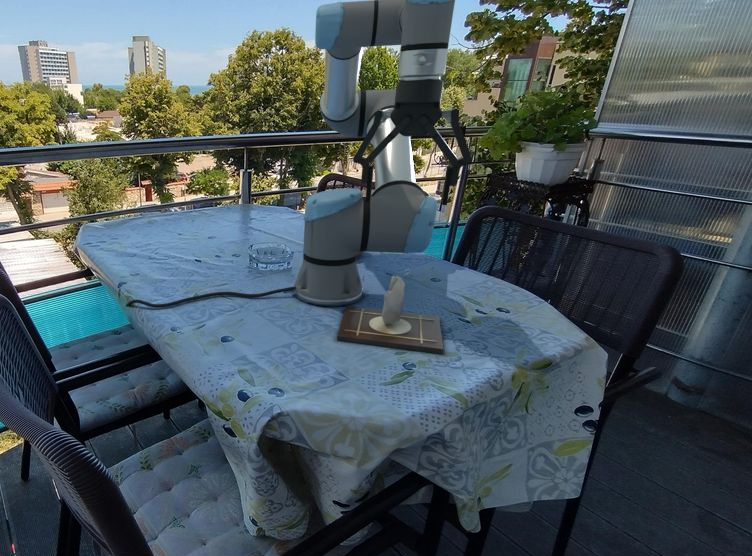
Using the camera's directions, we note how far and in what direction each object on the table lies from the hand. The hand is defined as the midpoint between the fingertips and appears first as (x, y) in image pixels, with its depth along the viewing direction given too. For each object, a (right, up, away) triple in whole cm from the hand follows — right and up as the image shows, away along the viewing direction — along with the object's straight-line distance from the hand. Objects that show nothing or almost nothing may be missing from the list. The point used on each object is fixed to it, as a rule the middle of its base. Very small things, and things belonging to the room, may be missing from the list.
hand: (405, 202), depth 88 cm
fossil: (-3, -24, 0) cm, 24 cm away
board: (-3, -24, +1) cm, 25 cm away
